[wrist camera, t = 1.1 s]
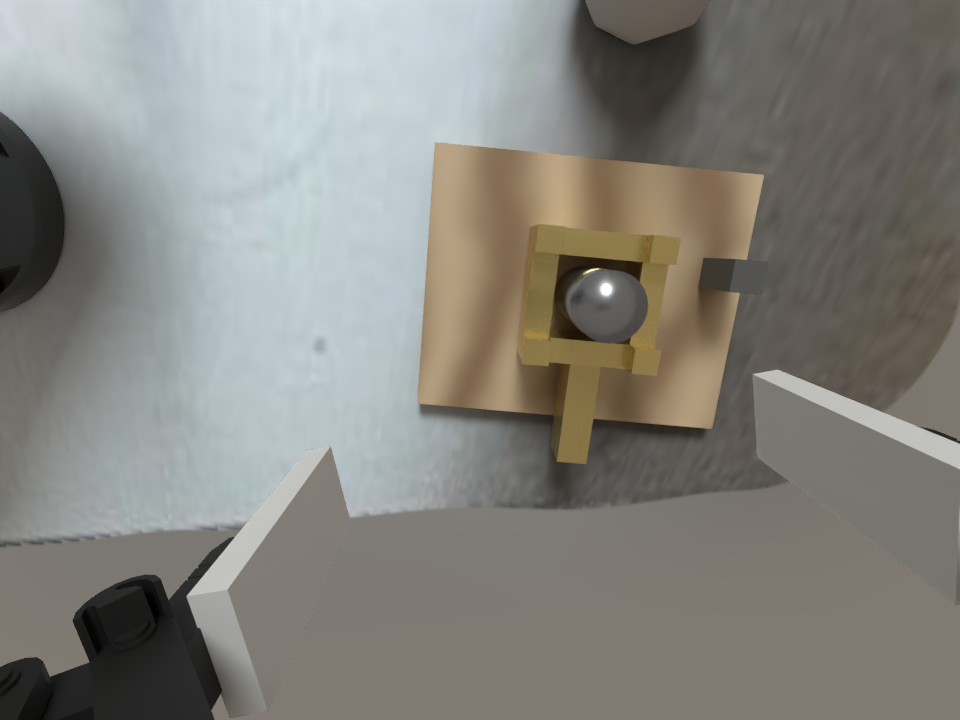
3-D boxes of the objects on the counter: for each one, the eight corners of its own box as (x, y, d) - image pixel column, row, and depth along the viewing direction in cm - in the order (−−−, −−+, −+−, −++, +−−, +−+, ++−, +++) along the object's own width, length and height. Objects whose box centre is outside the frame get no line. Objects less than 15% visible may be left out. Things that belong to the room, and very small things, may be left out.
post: (548, 318, 36) (570, 340, 28) (555, 262, 36) (580, 267, 27) (602, 322, 37) (641, 346, 28) (610, 267, 36) (653, 274, 27)
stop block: (698, 286, 35) (729, 292, 31) (703, 257, 34) (735, 259, 30) (726, 289, 35) (761, 295, 31) (731, 260, 34) (768, 262, 30)
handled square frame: (530, 227, 34) (538, 223, 29) (652, 239, 34) (681, 237, 29) (506, 438, 37) (511, 465, 32) (618, 447, 37) (639, 476, 32)
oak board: (419, 398, 38) (417, 403, 37) (436, 146, 34) (435, 142, 33) (704, 423, 38) (711, 428, 37) (754, 177, 34) (763, 175, 33)
